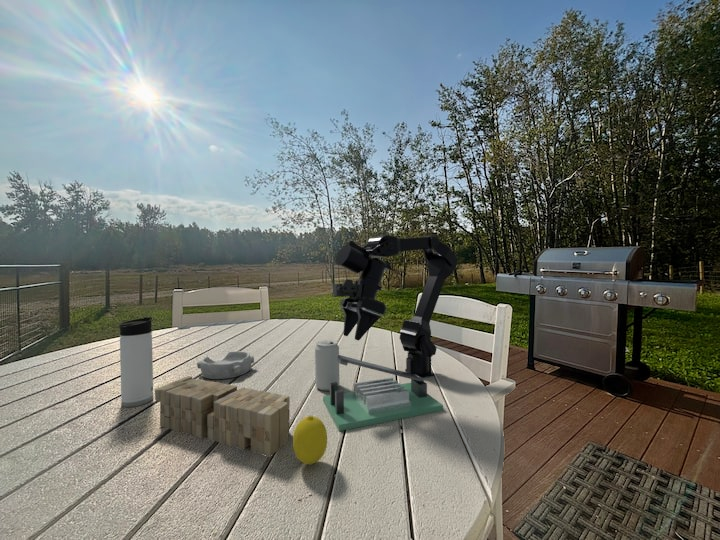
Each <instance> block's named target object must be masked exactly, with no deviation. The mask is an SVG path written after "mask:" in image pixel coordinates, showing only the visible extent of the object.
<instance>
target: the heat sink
mask: <svg viewBox="0 0 720 540" xmlns="http://www.w3.org/2000/svg"><path fill="white" fill-rule="evenodd" d="M410 383H411V392H413V393H414V394H415V395H416V396H418V397H419V398H422V397H427V394H428V383H427V382H425V381H424V382H422V383H421V382H420V381H417V380H413V379H410ZM401 384H402V383H400V382H398V380H396V379H394V378H393V376H392V377H386V378H385V377H384V378H378V379H372V380H366V381H365V380H364V381H357V382H354V383H353V387H354V388H353V391H352V392H353V395H354V396H355V398H356V399H357V400H358V402H359V403H360V404H361V405H362V407H363V408H364V409H365V410H366V412H367V413H368V414H372V413H377V412H383V411H388V410H393V409H399V408H404V407H410V406H411V402H410V401H409V390H405V387H404V386H402V387H401ZM344 393H345V392H344V390H343V389H339V386H338V383H337V382H334V383H330V391H329V395H330V404H331V405H335V413H336V414H343V413H344Z"/></svg>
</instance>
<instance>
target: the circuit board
mask: <svg viewBox="0 0 720 540" xmlns="http://www.w3.org/2000/svg"><path fill="white" fill-rule="evenodd" d="M400 384H401V387H402V386H404V387H405V390H409V401H410V402H411V406H410V407H404V408H399V409H393V410H388V411H383V412H377V413H372V414H368V413H367V412H366V410H365V409H364V408H363V407H362V405H361V404H360V403H359V402H358V400H357V399H356V398H355V396H354V395H353V391H347V392H344V413H343V414H336V413H335V405H331V404H330V394H328V395H323V396H322V402H323V404H324V405H325V408H326V410H327V411H328V413H329V415H330V417H331V419H332V421H333V423H334V424H335V426H336V429H337V430H338V432H341V431H346V430H352V429H355V428H361V427H365V426H366V427H367V426H370V425H376V424H381V423H386V422H391V421H392V422H393V421H396V420H402V419H407V418H411V417H417V416H422V415H426V414H431V413H437V412H442V411H444V405H443V404H442V403H441V402H439V401H438V400H437V399H436V398H434V397H432V396H431V395H430V394H429V393H427V397H422V398H419V397H418V396H416V395H415V394H414V393H413V392H411V382H406V383H400Z"/></svg>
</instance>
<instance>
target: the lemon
mask: <svg viewBox="0 0 720 540" xmlns="http://www.w3.org/2000/svg"><path fill="white" fill-rule="evenodd" d="M327 447H328V432H327V429H326V426H325V424H324V422H323V421H322V420H321V419H320V418H318V417H317V416H313V415H311V414H309V415H308V416H305V417H304V418H302V419H301V420H299V422H298V423H297V424H296V426H295V430H294V431H293V436H292V448H293V452H294V454H295V457H296V458H297V459H298V460H299V461H300V462H301V463H303V464H306V465H309V466H312V465H313V464H315V463H317V462H319V461H320V460H321V459H322V458H323V456H324V455H325V453H326V451H327Z"/></svg>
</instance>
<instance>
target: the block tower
mask: <svg viewBox="0 0 720 540" xmlns="http://www.w3.org/2000/svg"><path fill="white" fill-rule="evenodd" d="M154 397H155V398H154V399H155V401H156V402H159V403H160V404H159V405H160V406H159V426H160V427H162V428H164V429H167V430H172V431H176V432H178V433H183V434H187V435H192V436H194V437H196V438H200V439H202V438H204V437H205V436H207V440H209V441H211V442H217V443H219V444H222V445H227V446H231V447H233V448H236V447H238V448H237V449H239V450H242V449H244V450H245V448H246V447H247V448H249V446H250V453H253V452H255V453H254V454H257V453H259V454H258V455H261V454H264V455H266V456H271V455H273V454H274V453H275V452H276V453H277V452H278V451H279V450H280V449H282V448H283V447H284V446H285V445H286V444H287V443H288V442H289V441H288V440H289V438H288V437H289V436H288V435H289V434H290V405H291V404H290V395H287V394H279V393H276V392H270V391H264V390H257V389H253V388H247V387H241V388H239V389H238V386H237V385H233V384H232V385H231V384H229V383H226V384H225V383H222V382H219V381H216V382H215V381H209V380H203V379H196V378H193V376H189V375H188V376H184V377H181V378H179V379H176V380H174V381H171V382H170V383H167V384H164V385H162V386H160V387H157V388H155V389H154ZM250 444H251V445H250ZM283 445H284V446H283ZM282 446H283V447H282ZM281 447H282V448H281ZM247 448H246V449H247ZM279 448H280V449H279ZM276 453H275V454H276ZM275 454H274V455H275ZM264 455H263V456H264ZM274 455H273V456H274ZM266 456H265V457H266Z"/></svg>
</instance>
